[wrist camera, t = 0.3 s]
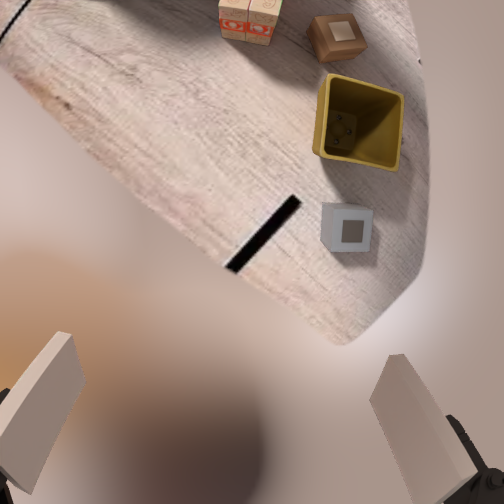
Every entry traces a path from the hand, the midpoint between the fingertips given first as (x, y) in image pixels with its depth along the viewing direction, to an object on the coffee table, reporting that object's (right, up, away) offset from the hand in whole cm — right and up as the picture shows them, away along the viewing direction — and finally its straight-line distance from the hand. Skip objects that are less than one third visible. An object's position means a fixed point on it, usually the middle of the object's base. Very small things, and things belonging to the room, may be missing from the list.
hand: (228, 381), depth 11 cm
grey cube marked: (+12, +9, +27) cm, 31 cm away
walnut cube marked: (+11, +32, +19) cm, 39 cm away
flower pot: (+12, +20, +23) cm, 33 cm away
